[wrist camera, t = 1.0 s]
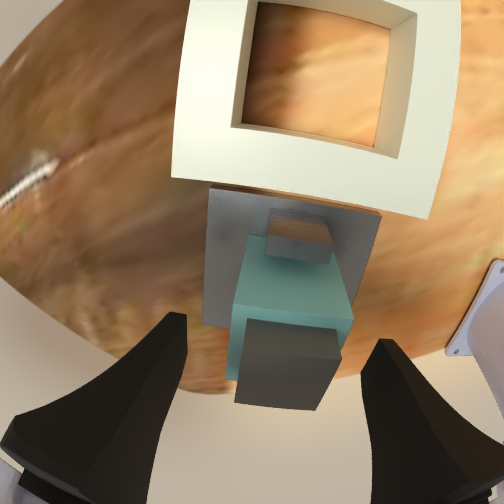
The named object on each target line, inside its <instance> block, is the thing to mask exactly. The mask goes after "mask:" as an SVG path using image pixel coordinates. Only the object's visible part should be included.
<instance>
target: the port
mask: <svg viewBox="0 0 504 504" xmlns="http://www.w3.org/2000/svg"><path fill="white" fill-rule="evenodd" d="M258 2H269V3H278V4H286V5H293V6H300V7H306V8H311V9H317V10H322V11H327V12H331V13H336V14H340V15H344V16H348V17H352V18H356V19H359V20H363V21H366V22H370V23H373V24H376V25H379V26H382V27H385V28H388V29H391V32H390V43H389V52H388V61H387V69H386V77H385V84H384V91H383V97H382V103H381V109H380V115H379V121H378V126H377V132H376V137H375V142H374V147H369V146H366V145H361V144H357V143H353V142H349V141H344V140H340V139H335V138H330V137H326V136H321V135H315V134H310V133H305V132H299V131H293V130H287V129H280V128H274V127H267V126H259V125H251V124H243V123H241V120H242V112H243V104H244V96H245V88H246V81H247V73H248V66H249V59H250V52H251V45H252V38H253V31H254V24H255V18H256V11H257V5H258ZM460 41H461V3H460V0H191V2H190V7H189V13H188V18H187V24H186V30H185V37H184V43H183V50H182V58H181V65H180V73H179V82H178V91H177V101H176V111H175V123H174V137H173V152H172V172H171V177H177V178H187V179H196V180H205V181H214V182H222V183H230V184H238V185H245V186H252V187H259V188H266V189H273V190H279V191H286V192H292V193H298V194H304V195H310V196H315V197H321V198H327V199H332V200H337V201H343V202H348V203H353V204H358V205H363V206H368V207H372V208H377V209H382V210H386V211H391V212H395V213H400V214H404V215H408V216H412V217H417V218H421V219H425V220H427V219H428V216H429V213H430V210H431V206H432V203H433V200H434V196H435V193H436V189H437V185H438V182H439V178H440V174H441V170H442V166H443V162H444V158H445V153H446V149H447V144H448V139H449V134H450V129H451V123H452V118H453V112H454V105H455V98H456V90H457V82H458V72H459V60H460Z"/></svg>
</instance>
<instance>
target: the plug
mask: <svg viewBox="0 0 504 504" xmlns="http://www.w3.org/2000/svg"><path fill="white" fill-rule="evenodd" d="M266 240H267V238H266V237H259V236H252V235H249V236H248V241H247V245H246V249H245V254H244V258H243V262H242V267H241V271H240V276H239V280H238V284H237V289H236V293H235V298H234V302H233V310H232V319H231V328H230V337H229V347H228V356H227V366H226V376H225V379H227V380H233V381H237V387H236V393H235V401H234V402H235V403H241V404H248V405H256V406H264V407H274V408H284V409H296V410H297V409H298V410H312V411H315V410H316V408H317V406H318V405H319V403H320V401H321V399H322V397H323V396H324V394H325V392H326V390H327V388H328V386H329V384H330V382H331V380H332V378H333V377H334V375H335V373H336V371H337V369H338V367H339V365H340V363H341V361H342V357H341V352H340V351H341V349H342V347H343V345H344V342H345V340H346V338H347V336H348V333H349V331H350V329H351V326H352V324H353V322H354V316H353V312H352V309H351V305H350V302H349V299H348V295H347V292H346V289H345V286H344V282H343V279H342V276H341V273H340V270H339V267H338V264H337V260H336V257H335V254H334V251H332V254H331V258H330V262H329V264H323V263H316V262H309V261H302V260H296V259H289V258H282V257H276V256H269V255H265V250H266Z"/></svg>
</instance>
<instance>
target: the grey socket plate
mask: <svg viewBox="0 0 504 504" xmlns="http://www.w3.org/2000/svg"><path fill="white" fill-rule="evenodd" d="M381 217H382V216H381V215H380V214H379V213H378V212H375V211H371V210H366V209H361V208H356V207H351V206H346V205H340V204H335V203H330V202H324V201H319V200H313V199H307V198H301V197H295V196H289V195H283V194H276V193H270V192H263V191H256V190H249V189H242V188H234V187H227V186H219V185H212V186H211V187H210V190H209V203H208V217H207V232H206V249H205V269H204V292H203V323H202V324H206V325H212V326H217V327H223V328H229V329H230V328H231V319H232V310H233V302H234V298H235V293H236V289H237V284H238V280H239V276H240V271H241V267H242V262H243V258H244V254H245V249H246V245H247V241H248V236H249V235H252V236H259V237H266V238H267V240H266V250H265V255H269V256H276V257H282V258H289V259H296V260H302V261H309V262H316V263H323V264H329V262H330V258H331V254H332V251H334V254H335V257H336V260H337V264H338V267H339V270H340V273H341V276H342V279H343V282H344V286H345V289H346V292H347V295H348V299H349V302H350V305H351V306H352V304H353V301H354V298H355V296H356V293H357V290H358V288H359V285H360V282H361V279H362V277H363V274H364V271H365V268H366V265H367V262H368V259H369V256H370V253H371V250H372V247H373V244H374V241H375V237H376V234H377V231H378V228H379V224H380V221H381Z"/></svg>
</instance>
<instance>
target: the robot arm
mask: <svg viewBox="0 0 504 504" xmlns="http://www.w3.org/2000/svg"><path fill="white" fill-rule="evenodd" d="M187 353H188V351H187V315H186V314H181V313H175V312H169V313H168V314H167V315H166V316H165V317H164V318H163V319H162V320H161V321H160V322H159V323H158V324H157V325H156V326H155V327H154V328H153V329H152V330H151V331H150V332H149V333H148V334H147V335H146V336H145V337H144V338H143V339H142V340H141V341H140V342H139V343H138V344H137V345H136V346H135V347H134V348H132V349H131V350H130V351H129V352H128V353H127V354H126V355H124V356H123V357H122V358H121V359H120V360H118V362H116V363H115V364H114V365H112V366H111V367H110V368H108V369H107V370H106V371H104V372H103V373H102V374H100V375H99V376H97V377H96V378H95V379H93V380H91V381H90V382H88V383H87V384H85V385H83V386H82V387H81V388H79V389H77V390H75V391H73V392H72V393H70V394H68V395H66V396H64V397H62V398H60V399H58V400H55V401H54V402H51V403H49V404H47V405H45V406H42V407H40V408H37V409H34V410H31V411H28V412H26V413H23V414H20V415H16V416H15V417H14V419H13V420H12V422H11V423H10V425H9V427H8V429H7V431H6V432H5V434H4V436H3V438H2V440H1V442H0V447H1V449H2V450H3V451H4V452H6V453H7V454H8V455H9V456H10V457H11V458H13V459H14V460H15V461H16V462H17V463H18V464H20V465H21V466H22V467H24V468H25V469H24V471H23V473H21V472H19V471H18V470H16V469H15V468H13V467H12V466H11V465H9V464H8V463H6V462H5V461H4V460H2V459H1V458H0V504H146V502H147V495H148V489H149V483H150V478H151V472H152V468H153V463H154V458H155V454H156V449H157V445H158V441H159V437H160V433H161V430H162V427H163V424H164V421H165V418H166V416H167V413H168V410H169V408H170V405H171V403H172V400H173V397H174V395H175V392H176V390H177V387H178V384H179V382H180V379H181V377H182V373H183V369H184V365H185V361H186V357H187ZM445 354H446V355H447V356H470V355H474V357H475V359H476V361H477V363H478V365H479V367H480V369H481V370H482V373H483V374H484V377H485V379H486V380H487V382H488V385H489V387H490V389H491V391H492V393H493V395H494V397H495V400H496V402H497V404H498V406H499V409H500V411H501V413H502V416H503V418H504V261H503V260H499V259H498V260H495V261H494V262H493V263H492V264H491V266H490V269H489V271H488V273H487V275H486V277H485V279H484V281H483V284H482V286H481V288H480V290H479V292H478V294H477V296H476V297H475V299H474V301H473V303H472V305H471V307H470V309H469V311H468V312H467V314H466V316H465V318H464V319H463V321H462V323H461V325H460V326H459V328H458V330H457V331H456V333H455V335H454V336H453V338H452V339H451V341H450V343H449V344H448V346H447V347H446V349H445ZM361 388H362V398H363V403H364V409H365V414H366V419H367V424H368V429H369V435H370V441H371V449H372V492H371V503H370V504H504V441H503V445H502V444H500V443H499V442H497V441H495V440H493V439H492V438H490V437H489V436H487V435H486V434H484V433H483V432H481V431H480V430H478V429H477V428H476V427H474V426H473V425H472V424H471V423H469V422H468V421H467V420H466V419H464V418H463V417H462V416H461V415H460V414H459V413H458V412H457V411H455V410H454V409H453V408H452V407H451V406H450V405H449V404H448V403H447V402H446V401H445V400H444V399H443V398H442V397H441V396H440V394H439V393H438V392H437V391H436V390H435V389H434V388H433V387H432V386H431V384H430V383H429V382H428V381H427V380H426V379H425V377H424V376H423V375H422V374H421V372H420V371H419V370H418V369H417V368H416V366H415V365H414V364H413V363H412V361H411V360H410V359H409V358H408V356H407V355H406V354H405V353H404V352H403V350H402V349H401V348H400V347H399V346H398V345H397V343H396V342H395V341H394V340H393V339H380V338H379V340H378V342H377V344H376V346H375V348H374V349H373V351H372V353H371V355H370V357H369V359H368V360H367V362H366V364H365V366H364V368H363V369H362V371H361ZM495 485H497V495H498V497H497V498H495V499H494V500H492V501H490V502H489V501H488V497H489V496H491V495H492V491H491V488H492V487H494V486H495Z"/></svg>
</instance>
